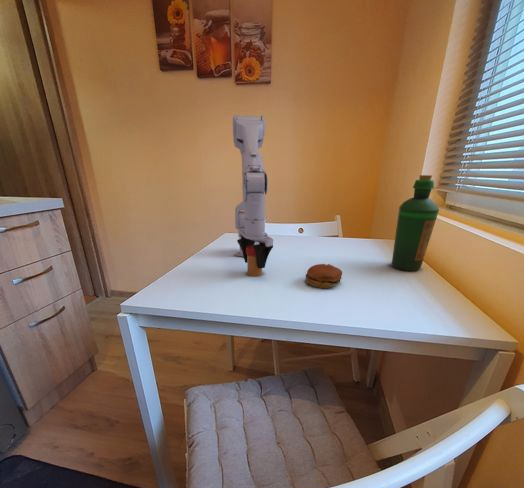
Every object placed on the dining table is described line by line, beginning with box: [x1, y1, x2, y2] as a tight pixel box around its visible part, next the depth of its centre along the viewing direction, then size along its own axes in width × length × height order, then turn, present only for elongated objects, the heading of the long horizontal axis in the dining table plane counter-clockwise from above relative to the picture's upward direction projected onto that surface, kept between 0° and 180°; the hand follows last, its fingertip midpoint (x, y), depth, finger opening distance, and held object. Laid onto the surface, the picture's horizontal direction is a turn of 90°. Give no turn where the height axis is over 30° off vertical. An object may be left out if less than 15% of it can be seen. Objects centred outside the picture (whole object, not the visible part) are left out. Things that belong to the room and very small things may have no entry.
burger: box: [305, 263, 343, 289], centre depth 77 cm, size 10×9×5 cm
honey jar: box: [246, 255, 263, 277], centre depth 82 cm, size 4×4×8 cm
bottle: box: [391, 174, 440, 272], centre depth 85 cm, size 11×11×28 cm
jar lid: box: [246, 245, 256, 256], centre depth 81 cm, size 5×5×2 cm
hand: (254, 264), depth 83 cm, fingers open, 6 cm apart
